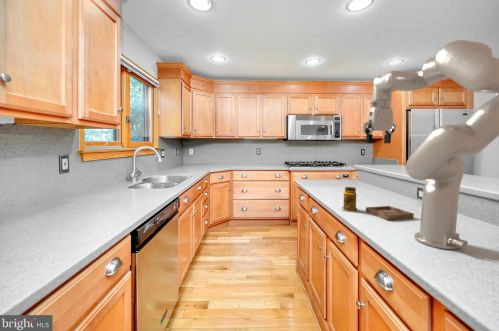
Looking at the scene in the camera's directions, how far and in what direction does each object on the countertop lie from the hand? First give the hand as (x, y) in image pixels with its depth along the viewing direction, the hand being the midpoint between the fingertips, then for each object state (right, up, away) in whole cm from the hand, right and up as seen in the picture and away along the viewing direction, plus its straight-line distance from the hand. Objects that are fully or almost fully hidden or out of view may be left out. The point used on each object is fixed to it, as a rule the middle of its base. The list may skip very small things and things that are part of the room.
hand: (378, 143), depth 104 cm
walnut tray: (+9, -34, +7) cm, 36 cm away
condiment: (-6, -34, +17) cm, 38 cm away
